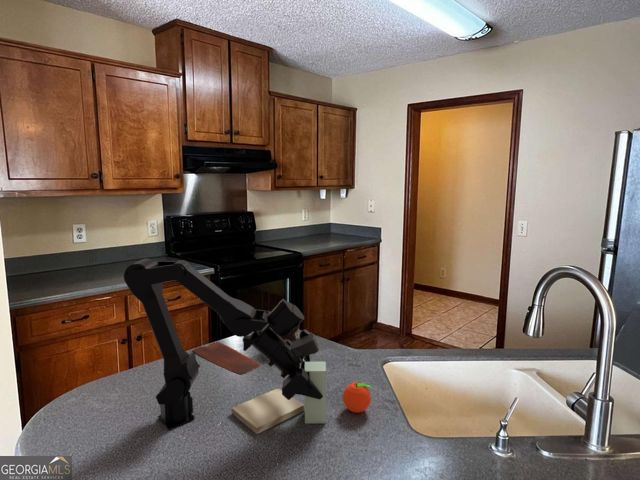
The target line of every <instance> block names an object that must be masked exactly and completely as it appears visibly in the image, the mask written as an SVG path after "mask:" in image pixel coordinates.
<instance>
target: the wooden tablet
mask: <svg viewBox="0 0 640 480" xmlns="http://www.w3.org/2000/svg"><path fill="white" fill-rule="evenodd" d="M215 342H216V343H215ZM211 343H212V344H211ZM211 343H209V344H208V346H206V345H205V346H204V345H203V347H202V346H198V347H195V348H193V349H194V350H193V349H192V353H193V352H194V353H195V355H197V356H200V357H201V358H203V359H205V360H207V361H209V362H211V363H213V364H215V365H218V366H220V367H221V368H223V369H226V370H228V371H230V372H233V373H235V374H239V375H244V374H247V373H250V372H253V371H254V370H256V369H258V368H260V367H261V364H259V362H258V361H256V360H254V359H252V358H250V357H249V356H246V355H245V354H243V353H241V352H240V351H238V350H236V349H234V348H232V347H231V346H228V345H226V344H224V343H223V342H220V341H213V342H211Z"/></svg>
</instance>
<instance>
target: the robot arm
mask: <svg viewBox="0 0 640 480" xmlns="http://www.w3.org/2000/svg"><path fill="white" fill-rule="evenodd" d="M123 280H124V283H125V285H126V287H127V288H128V289H129V291H130V293H131V295H133V296H134V297H135V298H136V299H137V300H138V301H139V302H140V303H141V305H142V306H143V309H144V312H145V314H146V317H147V319H148V321H149V325H150V327H151V328H150V329H151V330H152V332H153V335H154V337H155V340H156V342H157V345H158V348H159V350H160V353H161V356H162V359H163V378H164V384H163V386H162V387H161V388H160V390H159V392H158V393H156V395H155V399H156V402H157V404H158V405H159V409H160V410H159V411H160V415H158V419H159V421H160V422H161V423H162V424H163V425H164V427H165V428H166V429H167V430H172V429H174V428H177V427H179V426H181V425H182V426H183V425H184V424H186V423H188V422H191V421H193V420H195V419H196V418H195V415H194V414H193V413H194V400H193V397H192V396H191V392H190V389H191V388H192V386H193V385H194V383H195V381H196V379H197V378H198V376H199V373H200V372H199V368H200V367H201V366H200V365H201V364H200V363H199V362H198V361H197V357H196V353H195V352H193V351H192V352H191V353H188V352H187V351H186V350H184V348H183V344H182V342H181V340H180V338H179V334H178V332H177V329H176V327H175V324H174V321H173V319H172V316H171V313H170V311H169V309H168V308H169V307H168V305H167V303H166V300H165V298H164V294H163V288H164V286H163V283H167V282H174V281H175V282H177V283H179V284H180V285H182V287H183V288H185V289H186V290H188V291H189V292H190V293H192V294H193V295H194V296H195V297H197V298H198V299H199V300H200V301H202V302H203V303H204V304H205V305H207V306H208V307H209V308H210V309H212V310H213V311H215V313H216V314H217V315H218V316H219V317H220V319H221V321H222V323H223V324H224V326H225V327H226V328H227V329H229V331H230V332H231V333H232V334H233V335H234V336H236V337H238V338H241V337H243V338H242V343H243V346H242V347H243V349H242V351H244V352H246V351H248V349H249V348H251V346H252V347H253V348H254V349H256V350H257V351H258V352H259V353H260V354H261V356H263V357H264V358H266V360H267V365H268V366H270V367H273V366H274V367H275V368H277V370H279V371H280V376H281V377H282V378H283V379H284V380H283V381H282V385H281V390H282V395H283V396H284V397H285V398H286V399H287V400H290V399H291V398H292V397H293V398H294V396H296V395H300V396H304V397H305V396H308V397H312V398H316V399H321V398H322V397H323V395H322V394H321V392H320V391H319V390H318V389H317V387H316V386H315V385H314V384H313V383H312V381H311V380H310V371H308V372H306V371H305V362H311V355H314V354H316V353H318V352H319V350H320V348H319V346H320V345H319V343H318V341H317V339H316V335H315V333H313V332H312V331H311V332H309V331H308V330H307V329H302V330H299V337H298V338H297V340H296V341H294V342H291V341H290V340H289V339H288V340H287V339H286V340H285V341H284V340H283V339H282V338H281V337H280V336H282V337H283V336H287V335H288V334H289V333H290V332H291V331H293V330H294V329H295V328H296V327H297V326H298V325H299V324H300V325H301V323H302V322H303V321H304V320H305V316H304V314H303V313H302V312H301V310H300V309H299V308H298V306H296V305H295V304H293V303H291V302H289V301H287V300H285V298H282V299H281V300H280V301H279V302H278V304H277V305H276V306H274V308H273V309H272V310H271V311H270V310H263V309H256V308H255V307H253V306H252V305H250V304H248V303H246V302H245V301H243V300H240V299H238V298H234V297H232V296H230V295H229V294H227V293H226V292H224V290H222V289H221V288H220V287H219V286H217V285H216V284H215V283H213V282H212V281H211V280H209V279H208V278H207V277H205V276H204V275H203V274H202V272H201V273H200V272H199V271H198V270H197V269H196V268H194V267H193V266H192V265H191V264H190V263H189V262H188V261H187V260H185V259H184V260H183V259H182V260H181V259H180V260H160V261H157V260H154V259H152V258H143V259H141V260H138V261H137V262H134V263H132V264H131V265H128V266H127V267H126V269H125V271H124V272H123Z"/></svg>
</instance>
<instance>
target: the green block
mask: <svg viewBox="0 0 640 480" xmlns="http://www.w3.org/2000/svg"><path fill="white" fill-rule="evenodd" d="M326 363H327V362H326V361H310V362H305V371H306V372H308V371H310V380H311V381H312V383H313V384H314V385H315V386H316V387H317V389H318V390H319V391H320V392H321V394H322V395H323V397H322V398H321V399H316V398H312V397H308V396H304V405H305V411H304V424H327V365H326Z"/></svg>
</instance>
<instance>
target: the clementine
mask: <svg viewBox="0 0 640 480" xmlns="http://www.w3.org/2000/svg"><path fill="white" fill-rule="evenodd" d="M368 387H369V388H371V389H372V390H373V392H374V388H373V387H372V386H371V385H368V384H367V383H362V382H352V383H350V384H348V385H347V386H346V387H345V389H344V391H343V394H342V400H343V404H344V405H345V407H346V409H347V410H348V411H350V412H353V413H355V414H357V413H362V412H364V411H366V410H367V409H368V407H369V406H370V405H371V400H372V397H371V392H370V390H369V388H368Z"/></svg>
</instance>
